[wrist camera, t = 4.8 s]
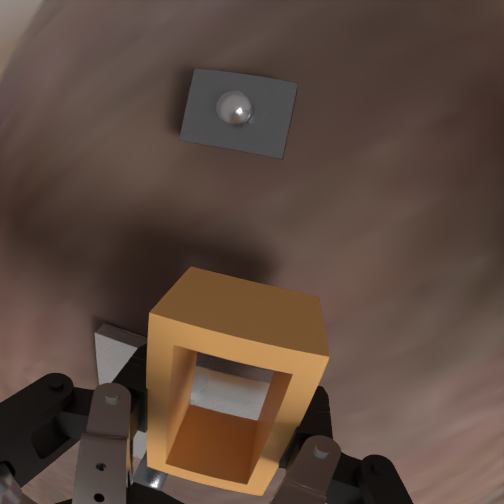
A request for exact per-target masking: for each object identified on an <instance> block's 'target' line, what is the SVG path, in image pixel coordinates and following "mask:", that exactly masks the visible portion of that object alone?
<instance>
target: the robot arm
mask: <svg viewBox="0 0 504 504" xmlns="http://www.w3.org/2000/svg"><path fill="white" fill-rule="evenodd" d="M146 366H147V343H146V344H144V345H142V346H140V347H139V348H137V350H136V351H135V352H134V354H133V355H132V356H131V357H130V359H129V360H128V362H127V363H126V364H125V365H124V367H123V368H122V369H121V371H120V372H119V373H118V375H117V376H116V377H115V378H114V380H113V381H112V382H111V383H104V384H101V385H99V386H98V387H97V388H96V389H95V390H89V389H83V388H77V387H74V385H73V382H72V380H71V379H70V378H69V377H68V376H66V375H64V374H61V373H50V374H47V375H45V376H43V377H42V378H40V379H38V380H37V381H35V382H34V383H32V384H30V385H29V386H27V387H25V388H24V389H22V390H21V391H19V392H17V393H16V394H14V395H12V396H11V397H9V398H8V399H6V400H4V401H3V402H1V403H0V504H19V502H20V501H21V498H22V490H21V487H23V486H24V485H25V484H26V483H28V482H29V481H30V480H31V479H33V478H34V477H35V476H36V475H38V474H39V473H40V472H41V471H43V470H44V469H45V468H46V467H48V466H49V465H50V464H51V463H52V462H54V461H55V460H56V459H57V458H59V457H60V456H61V455H62V454H63V453H65V452H66V451H67V450H68V449H69V448H71V447H72V446H73V445H74V444H75V443H77V442H78V441H79V440H80V444H79V451H78V457H77V464H76V472H75V479H74V488H73V498H72V499H69V500H66V501H62V502H59V503H56V504H184V503H182V502H180V501H178V500H176V499H174V498H173V497H171V496H169V495H167V494H165V493H164V492H162V491H159V490H156V489H153V488H150V487H147V486H144V485H142V484H139V483H136V482H134V481H133V447H134V440H133V438H134V436H135V435H136V433H137V431H141V432H144V433H146V431H147V429H148V389H147V388H146ZM278 468H285V469H286V476H285V477H284V479H283V481H282V482H281V484H280V486H279V487H278V489H277V491H276V492H275V494H274V496H273V497H272V499H271V500H270V502H269V504H325V503H327V504H413V502H412V500H411V498H410V496H409V494H408V492H407V490H406V488H405V486H404V484H403V482H402V480H401V479H400V477H399V475H398V473H397V471H396V469H395V467H394V465H393V464H392V462H391V461H390V460H389V459H387V458H386V457H384V456H381V455H369V456H366V457H365V458H364V459H363V460H359V459H356V458H353V457H350V456H348V455H346V454H344V453H342V452H341V449H340V447H339V445H338V444H337V443H336V442H335V441H334V440H333V435H332V425H331V416H330V407H329V398H328V394H327V393H326V391H325V390H324V388H323V387H322V386H317V388H316V390H315V393H314V395H313V397H312V399H311V402H310V404H309V406H308V408H307V410H306V412H305V415H304V417H303V419H302V421H301V423H300V425H299V427H298V426H297V427H296V429H295V431H294V433H293V435H292V437H291V440H290V442H289V444H288V446H287V447H286V449H285V451H284V453H283V455H282V457H281V459H280V461H279V466H278Z"/></svg>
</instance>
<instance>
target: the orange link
mask: <svg viewBox="0 0 504 504" xmlns="http://www.w3.org/2000/svg"><path fill="white" fill-rule="evenodd" d="M197 352H201V353H205V354H209V355H212V356H216V357H220V358H224V359H228V360H232V361H236V362H240V363H244V364H248V365H253V366H257V367H261V368H266V369H270V370H274V373H273V376H272V379H271V382H270V385H269V388H268V391H267V394H266V397H265V400H264V403H263V406H262V409H261V412H260V415H259V417H258V420H252V419H248V418H243V417H239V416H235V415H230V414H226V413H222V412H218V411H215V410H211V409H207V408H203V407H200V406H196V405H193V404H190V400H191V393H192V386H193V379H194V372H195V366H196V359H197ZM329 358H330V356H329V350H328V344H327V338H326V333H325V327H324V322H323V316H322V311H321V305H320V300H319V297H317V296H313V295H308V294H304V293H299V292H295V291H291V290H286V289H282V288H278V287H274V286H269V285H265V284H261V283H257V282H253V281H248V280H244V279H240V278H236V277H232V276H228V275H224V274H220V273H216V272H212V271H208V270H204V269H200V268H196V267H192V266H191V267H190V268H189V269H188V270H187V271H186V272H185V273H184V274H183V275H182V277H181V278H180V279H179V280H178V281H177V282H176V283H175V284H174V285H173V287H172V288H171V289H170V290H169V291H168V292H167V293H166V294H165V295H164V297H163V298H162V299H161V300H160V301H159V302H158V303H157V304H156V306H155V307H154V308H153V309H152V310H151V311H150V312H149V324H148V341H147V366H146V388H147V389H148V429H147V431H146V444H147V466H148V467H150V468H153V469H156V470H159V471H162V472H165V473H168V474H171V475H174V476H178V477H181V478H184V479H188V480H191V481H195V482H199V483H203V484H207V485H211V486H215V487H219V488H223V489H228V490H233V491H237V492H243V493H248V494H254V495H259V496H262V495H263V493H264V491H265V490H266V488H267V486H268V484H269V483H270V481H271V479H272V477H273V475H274V474H275V472H276V470H277V468H278V466H279V461H280V459H281V457H282V455H283V453H284V451H285V449H286V447H287V446H288V444H289V442H290V440H291V437H292V435H293V433H294V431H295V429H296V427H297V426H298V427H299V425H300V423H301V421H302V419H303V417H304V415H305V412H306V410H307V408H308V406H309V404H310V402H311V399H312V397H313V395H314V393H315V390H316V388H317V386H318V384H319V381H320V379H321V377H322V374H323V372H324V370H325V367H326V365H327V362H328V360H329Z"/></svg>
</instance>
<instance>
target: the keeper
mask: <svg viewBox="0 0 504 504" xmlns="http://www.w3.org/2000/svg"><path fill="white" fill-rule="evenodd" d="M147 341H148V337H145V336H142V335H139V334H136V333H133V332H130V331H127V330H124V329H121V328H118V327H115V326H112V325H109V324H107V323H104V324H103V325H102V326H101V327H100V328H99V329H98V330H97V331H96V332H95V345H96V357H97V368H98V377H99V385H101V384H104V383H111V382H112V381H113V380H114V378H115V377H116V376H117V375H118V373H119V372H120V371H121V369H122V368H123V367H124V365H125V364H126V363H127V362H128V360H129V359H130V357H131V356H132V355H133V354H134V352H135V351H136V350H137V348H139V347H140V346H142V345H144V344H146V343H147ZM273 373H274V370H270V369H266V368H261V367H257V366H252V365H248V364H244V363H239V362H235V361H231V360H227V359H223V358H219V357H215V356H211V355H207V354H203V353H200V352H197V359H196V366H195V372H194V379H193V386H192V393H191V400H190V404H193V405H196V406H200V407H203V408H207V409H211V410H215V411H218V412H222V413H226V414H230V415H235V416H239V417H243V418H248V419H252V420H258V417H259V415H260V412H261V409H262V406H263V403H264V400H265V397H266V394H267V391H268V388H269V385H270V382H271V379H272V376H273ZM133 440H134V447H133V456H135V457H138V458H140V459H142V460H141V462H140V464H139V466H138V468H137V471H136V473H135V475H134V477H133V481H134V482H136V483H139V484H142V485H144V486H147V487H150V488H153V489H156V490H159V491H161V490H162V487H163V485H164V482H165V480H166V477H167V475H168V473H165V472H162V471H159V470H156V469H153V468H150V467H148V466H147V444H146V433H144V432H141V431H137V433H136V435H135V436H134V438H133Z"/></svg>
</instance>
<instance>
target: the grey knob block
mask: <svg viewBox="0 0 504 504" xmlns="http://www.w3.org/2000/svg"><path fill="white" fill-rule="evenodd" d="M297 85H298V83H294V82H289V81H283V80H278V79H273V78H267V77H261V76H254V75H248V74H241V73H233V72H225V71H216V70H206V69H194V73H193V78H192V82H191V86H190V91H189V95H188V100H187V104H186V109H185V114H184V119H183V124H182V129H181V134H180V139H179V141H184V142H190V143H196V144H202V145H208V146H214V147H220V148H226V149H232V150H237V151H243V152H248V153H253V154H258V155H263V156H268V157H273V158H277V159H282V160H283V157H284V152H285V147H286V142H287V138H288V133H289V128H290V123H291V119H292V114H293V109H294V104H295V99H296V95H297Z"/></svg>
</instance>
